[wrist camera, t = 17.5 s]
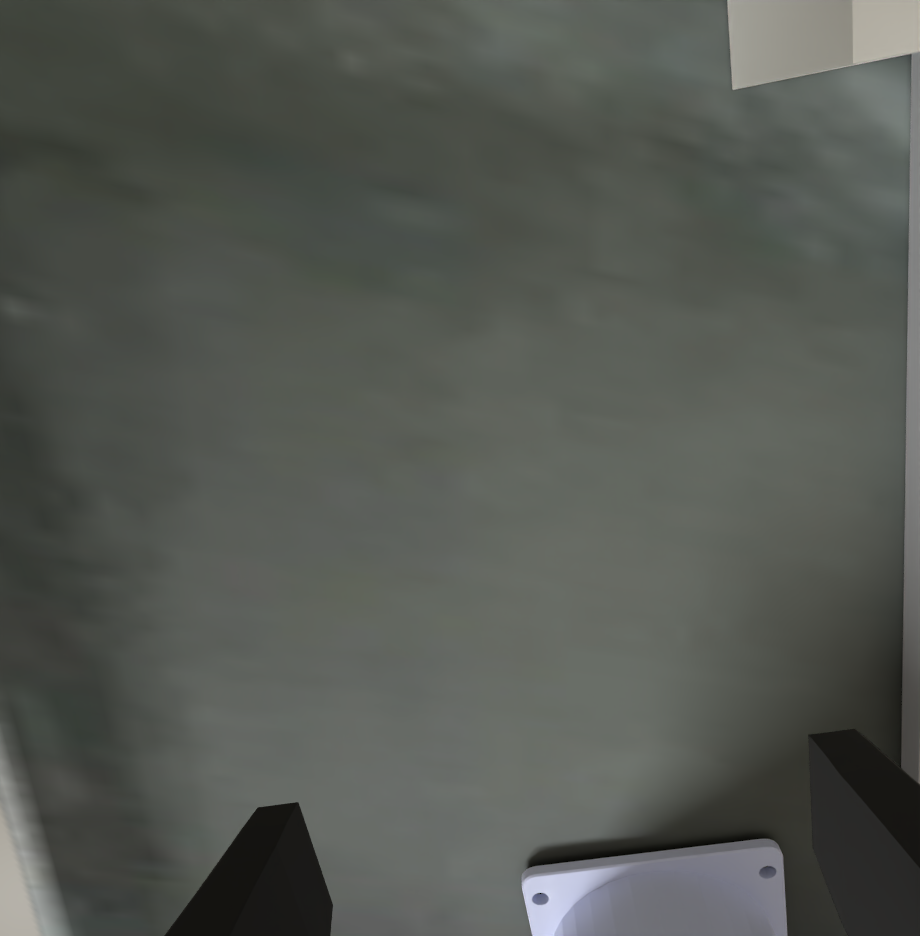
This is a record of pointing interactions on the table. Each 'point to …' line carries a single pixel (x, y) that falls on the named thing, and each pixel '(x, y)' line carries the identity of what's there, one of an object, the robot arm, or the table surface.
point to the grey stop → (876, 38)
